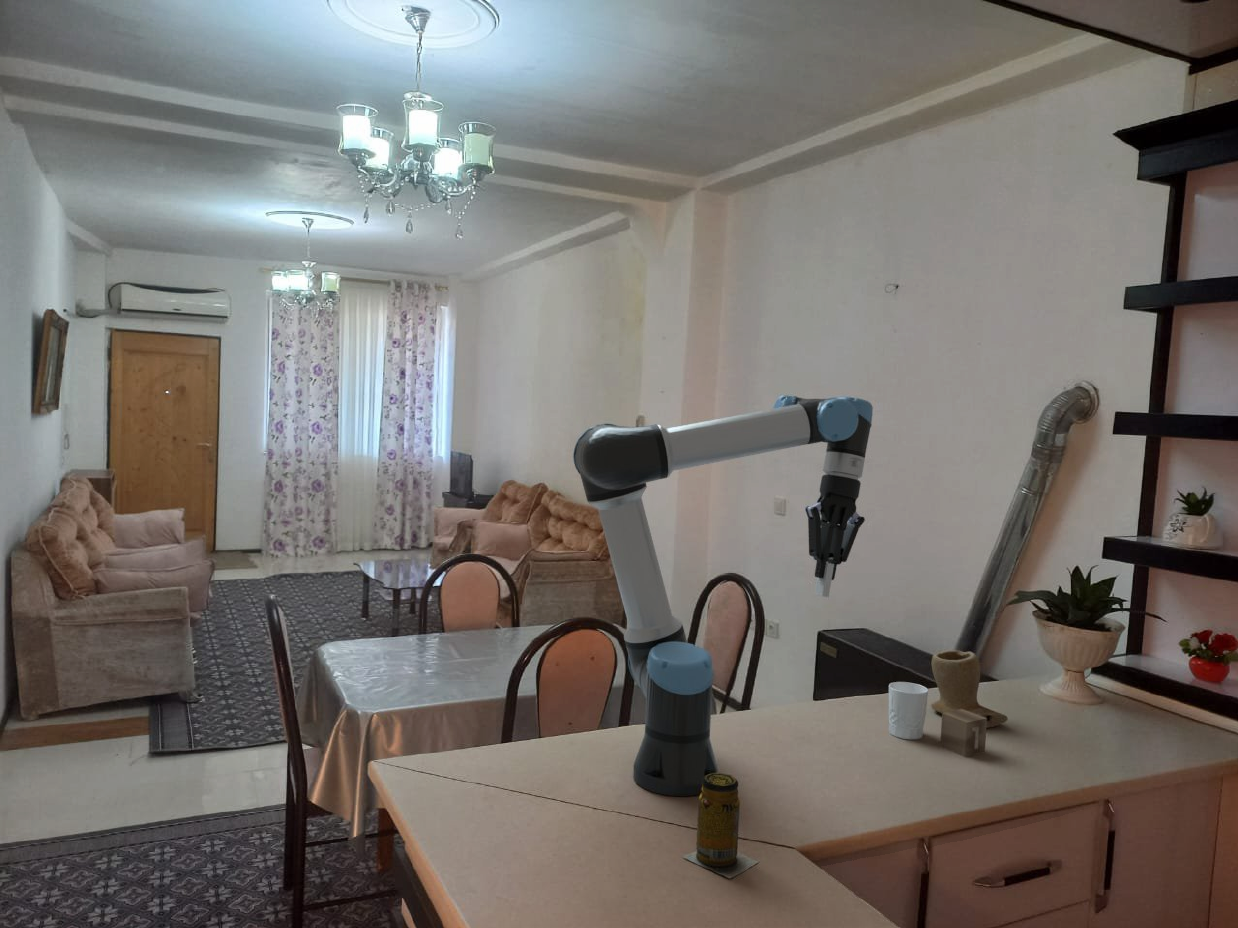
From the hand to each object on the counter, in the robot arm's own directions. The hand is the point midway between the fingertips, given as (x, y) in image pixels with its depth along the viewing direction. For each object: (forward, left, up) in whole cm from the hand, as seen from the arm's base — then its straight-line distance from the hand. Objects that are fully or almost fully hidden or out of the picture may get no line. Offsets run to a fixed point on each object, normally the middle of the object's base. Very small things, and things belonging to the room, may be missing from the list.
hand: (821, 595), depth 173 cm
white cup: (+24, +8, -31) cm, 40 cm away
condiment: (-30, -40, -31) cm, 59 cm away
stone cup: (+42, +16, -31) cm, 55 cm away
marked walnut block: (+32, -1, -31) cm, 44 cm away
